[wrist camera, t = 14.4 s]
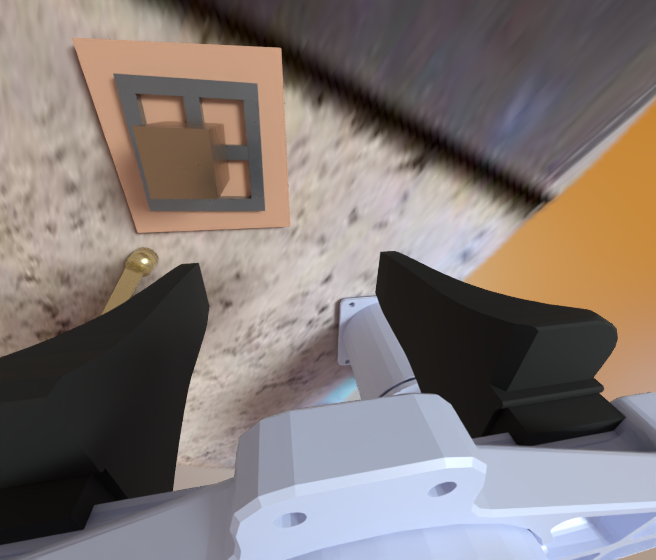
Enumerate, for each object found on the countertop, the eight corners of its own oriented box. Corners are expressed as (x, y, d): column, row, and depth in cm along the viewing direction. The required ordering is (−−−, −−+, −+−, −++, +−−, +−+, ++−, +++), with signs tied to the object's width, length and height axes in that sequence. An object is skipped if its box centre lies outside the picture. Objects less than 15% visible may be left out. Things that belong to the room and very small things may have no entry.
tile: (280, 50, 16) (281, 48, 16) (289, 222, 21) (290, 226, 21) (80, 40, 15) (71, 37, 14) (142, 228, 20) (137, 232, 19)
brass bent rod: (158, 246, 21) (146, 262, 19) (195, 365, 27) (189, 387, 25) (72, 250, 20) (50, 267, 18) (131, 372, 26) (119, 395, 24)
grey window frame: (257, 84, 16) (252, 76, 12) (265, 208, 20) (263, 237, 15) (118, 74, 15) (56, 62, 11) (153, 208, 19) (117, 239, 14)
